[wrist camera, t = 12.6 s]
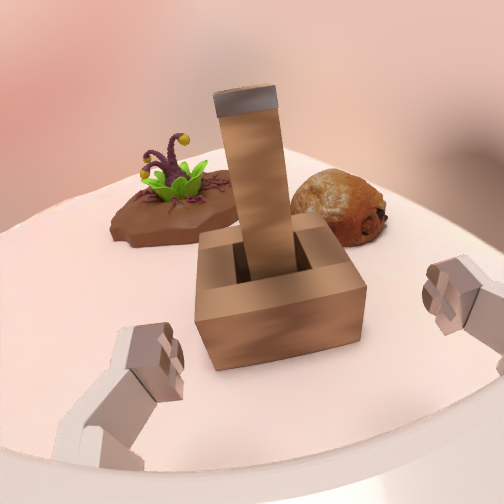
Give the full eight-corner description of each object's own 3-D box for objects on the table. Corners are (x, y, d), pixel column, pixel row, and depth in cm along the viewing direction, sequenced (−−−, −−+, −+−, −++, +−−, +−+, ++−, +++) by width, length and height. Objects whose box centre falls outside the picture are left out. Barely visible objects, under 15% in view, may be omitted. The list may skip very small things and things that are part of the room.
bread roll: (327, 226, 39) (299, 173, 37) (399, 206, 32) (371, 143, 30) (297, 271, 33) (260, 207, 30) (385, 253, 26) (350, 173, 23)
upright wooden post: (260, 326, 22) (212, 95, 13) (255, 298, 25) (213, 92, 16) (301, 317, 22) (275, 85, 13) (292, 291, 25) (265, 83, 16)
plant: (218, 256, 31) (192, 151, 25) (95, 246, 38) (66, 173, 32) (271, 181, 47) (260, 111, 40) (168, 185, 53) (153, 127, 47)
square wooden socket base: (215, 370, 19) (194, 321, 17) (213, 280, 28) (199, 233, 25) (359, 340, 19) (367, 286, 17) (320, 258, 28) (318, 210, 25)
